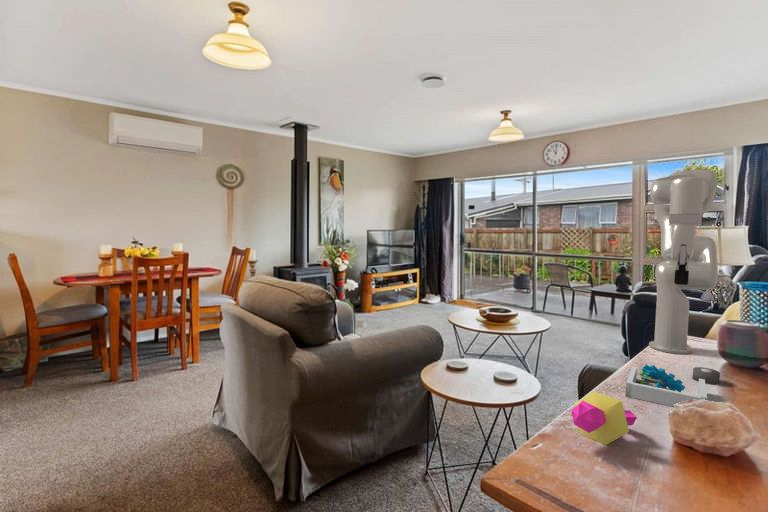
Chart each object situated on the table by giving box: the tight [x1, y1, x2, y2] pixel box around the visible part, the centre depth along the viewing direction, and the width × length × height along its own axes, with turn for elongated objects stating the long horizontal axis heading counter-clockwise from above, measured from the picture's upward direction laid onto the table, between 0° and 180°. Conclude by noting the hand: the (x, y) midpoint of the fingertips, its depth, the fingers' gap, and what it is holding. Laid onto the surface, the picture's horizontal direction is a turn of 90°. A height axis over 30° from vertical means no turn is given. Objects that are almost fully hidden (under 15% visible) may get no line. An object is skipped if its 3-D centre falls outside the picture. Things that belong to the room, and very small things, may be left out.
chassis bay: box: [625, 366, 708, 407], centre depth 105 cm, size 15×16×4 cm
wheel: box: [692, 366, 721, 386], centre depth 115 cm, size 6×6×3 cm
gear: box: [639, 364, 686, 392], centre depth 107 cm, size 11×6×10 cm
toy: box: [570, 390, 638, 446], centre depth 83 cm, size 10×18×10 cm, turn 124°
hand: (681, 284), depth 117 cm, fingers closed
